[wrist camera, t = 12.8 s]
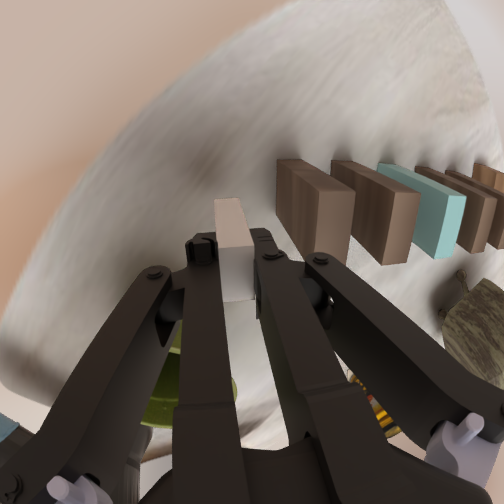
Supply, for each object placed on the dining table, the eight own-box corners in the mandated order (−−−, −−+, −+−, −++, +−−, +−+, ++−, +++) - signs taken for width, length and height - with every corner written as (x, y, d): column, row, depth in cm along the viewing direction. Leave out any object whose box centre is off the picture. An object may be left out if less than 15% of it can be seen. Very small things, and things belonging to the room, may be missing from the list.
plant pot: (177, 359, 33) (175, 439, 23) (97, 305, 27) (66, 386, 17) (249, 306, 30) (268, 394, 20) (163, 234, 25) (139, 316, 15)
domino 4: (438, 210, 28) (497, 249, 19) (445, 170, 26) (510, 200, 17) (449, 210, 28) (506, 248, 19) (456, 171, 26) (519, 201, 17)
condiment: (346, 369, 39) (376, 433, 28) (394, 349, 39) (430, 406, 28) (347, 392, 42) (371, 448, 32) (390, 373, 42) (419, 425, 32)
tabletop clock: (469, 309, 39) (546, 404, 17) (433, 341, 40) (504, 446, 18) (463, 256, 32) (576, 369, 10) (420, 295, 34) (525, 431, 12)
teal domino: (372, 211, 27) (433, 259, 18) (377, 163, 24) (448, 195, 16) (389, 210, 27) (451, 256, 18) (395, 164, 25) (466, 196, 16)
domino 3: (408, 210, 27) (470, 253, 19) (415, 166, 25) (485, 197, 16) (422, 210, 28) (483, 251, 19) (429, 167, 25) (497, 198, 16)
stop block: (463, 221, 29) (483, 234, 26) (474, 163, 26) (496, 172, 22) (474, 221, 30) (494, 234, 26) (485, 165, 26) (507, 174, 22)
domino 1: (276, 214, 26) (311, 273, 17) (276, 159, 23) (319, 191, 14) (299, 213, 26) (344, 269, 17) (301, 159, 23) (355, 191, 15)
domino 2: (327, 212, 26) (381, 265, 17) (331, 160, 24) (395, 192, 15) (347, 211, 26) (406, 262, 18) (352, 161, 24) (421, 193, 15)
